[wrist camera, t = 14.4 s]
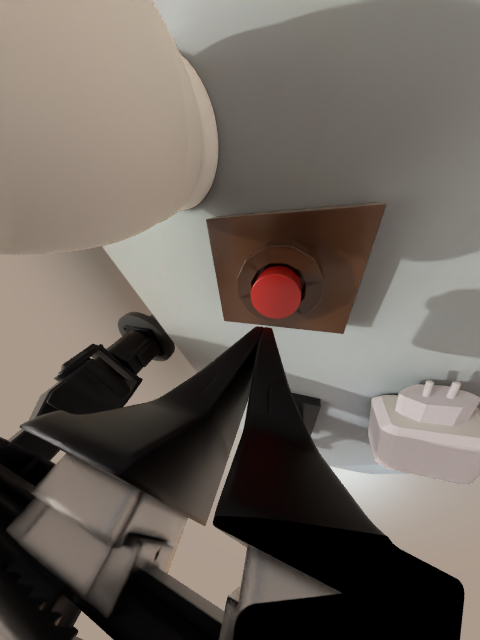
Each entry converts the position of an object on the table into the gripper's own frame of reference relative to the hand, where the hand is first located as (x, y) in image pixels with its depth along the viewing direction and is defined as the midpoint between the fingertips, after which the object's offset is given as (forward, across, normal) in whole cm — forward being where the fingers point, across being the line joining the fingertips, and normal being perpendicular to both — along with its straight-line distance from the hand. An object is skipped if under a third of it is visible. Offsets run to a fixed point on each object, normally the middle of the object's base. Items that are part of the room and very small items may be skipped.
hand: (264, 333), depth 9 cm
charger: (+10, -17, +16) cm, 25 cm away
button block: (+9, 0, 0) cm, 9 cm away
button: (+6, 0, 0) cm, 6 cm away
